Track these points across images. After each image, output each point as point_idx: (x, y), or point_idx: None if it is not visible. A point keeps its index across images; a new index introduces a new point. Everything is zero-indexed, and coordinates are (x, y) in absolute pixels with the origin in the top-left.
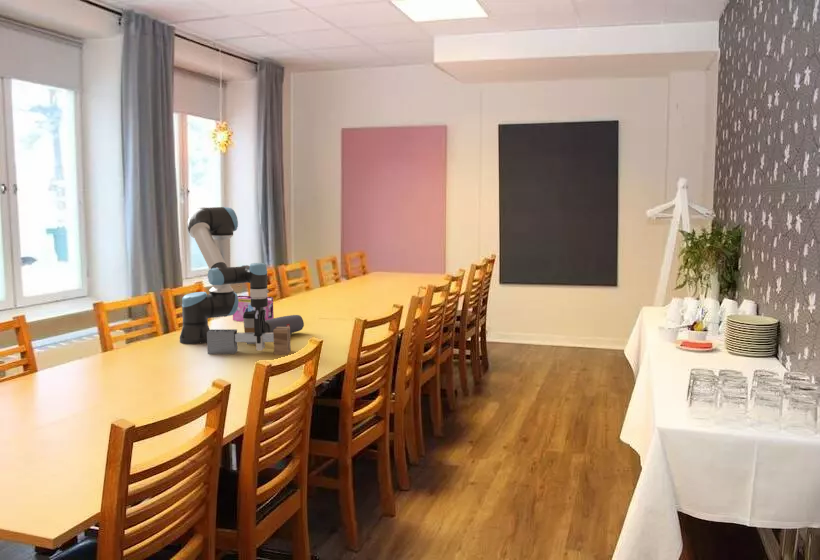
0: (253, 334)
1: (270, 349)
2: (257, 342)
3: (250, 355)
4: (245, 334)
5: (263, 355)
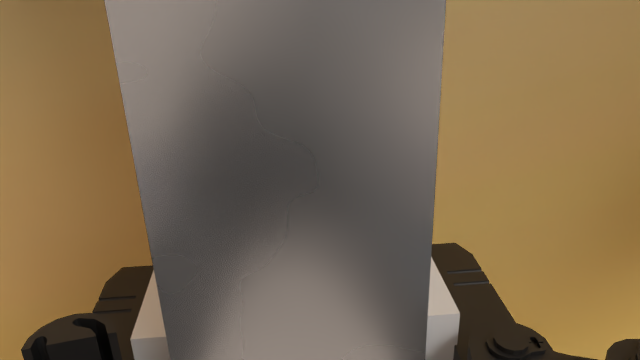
0: (158, 292)
1: (489, 260)
2: (108, 291)
3: (59, 91)
4: (114, 12)
5: (100, 274)
